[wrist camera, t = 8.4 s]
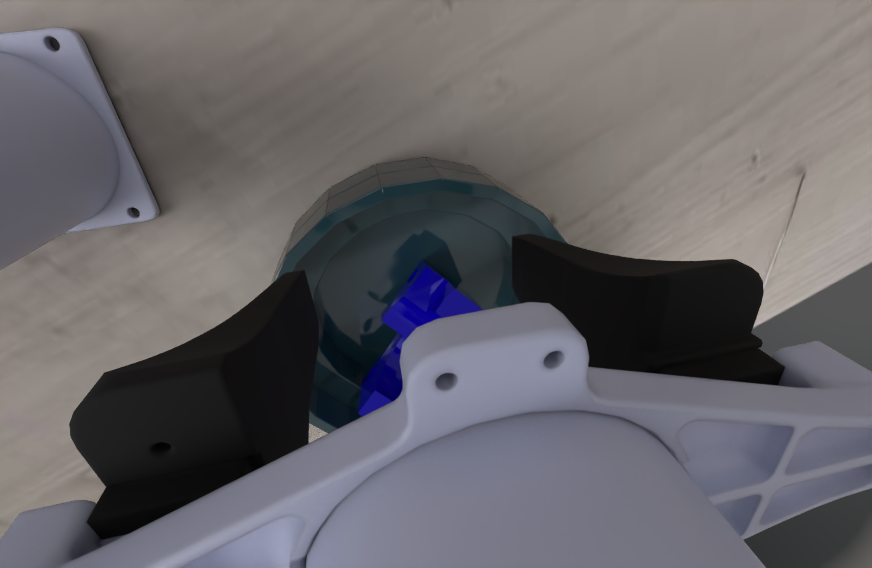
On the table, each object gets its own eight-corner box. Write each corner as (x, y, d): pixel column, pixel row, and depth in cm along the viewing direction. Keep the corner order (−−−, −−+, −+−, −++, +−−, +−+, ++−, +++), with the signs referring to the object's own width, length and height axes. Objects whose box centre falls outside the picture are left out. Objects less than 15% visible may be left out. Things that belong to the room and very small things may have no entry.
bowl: (317, 414, 28) (311, 477, 24) (238, 181, 20) (208, 212, 16) (540, 367, 30) (572, 417, 26) (546, 136, 22) (594, 154, 18)
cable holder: (422, 259, 24) (429, 270, 20) (469, 293, 24) (484, 310, 20) (341, 366, 24) (332, 397, 20) (389, 397, 25) (389, 432, 21)
